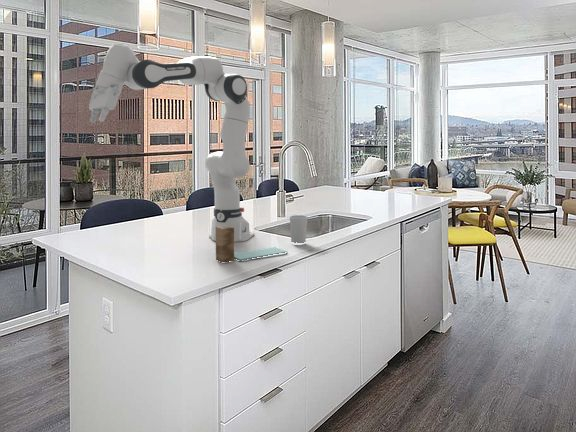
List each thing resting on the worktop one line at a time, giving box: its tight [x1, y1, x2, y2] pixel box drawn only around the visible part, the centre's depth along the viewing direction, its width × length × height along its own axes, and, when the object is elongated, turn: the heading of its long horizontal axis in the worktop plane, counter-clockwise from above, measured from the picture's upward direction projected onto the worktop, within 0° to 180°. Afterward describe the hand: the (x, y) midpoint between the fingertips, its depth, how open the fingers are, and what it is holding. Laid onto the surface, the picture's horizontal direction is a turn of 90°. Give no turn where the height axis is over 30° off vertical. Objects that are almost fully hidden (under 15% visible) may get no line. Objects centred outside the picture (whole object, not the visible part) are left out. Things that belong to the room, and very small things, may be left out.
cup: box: [289, 214, 309, 243], centre depth 221 cm, size 8×8×12 cm
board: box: [234, 246, 288, 262], centre depth 201 cm, size 22×9×1 cm, turn 126°
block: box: [215, 225, 235, 263], centre depth 191 cm, size 5×5×13 cm
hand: (96, 121), depth 185 cm, fingers open, 8 cm apart
